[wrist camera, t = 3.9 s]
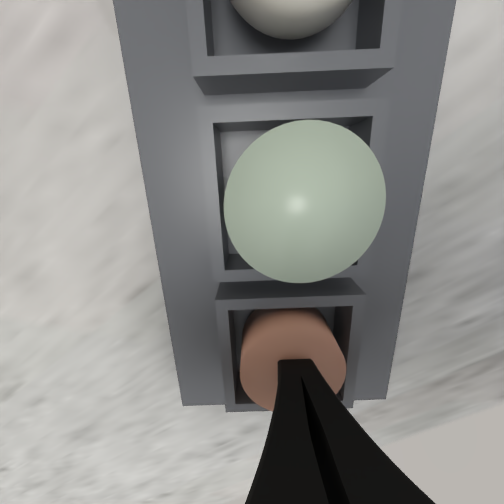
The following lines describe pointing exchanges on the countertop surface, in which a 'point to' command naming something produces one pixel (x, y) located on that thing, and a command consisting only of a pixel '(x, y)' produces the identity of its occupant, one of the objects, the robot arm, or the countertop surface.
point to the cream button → (290, 16)
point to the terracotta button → (286, 350)
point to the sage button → (304, 201)
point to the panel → (251, 128)
